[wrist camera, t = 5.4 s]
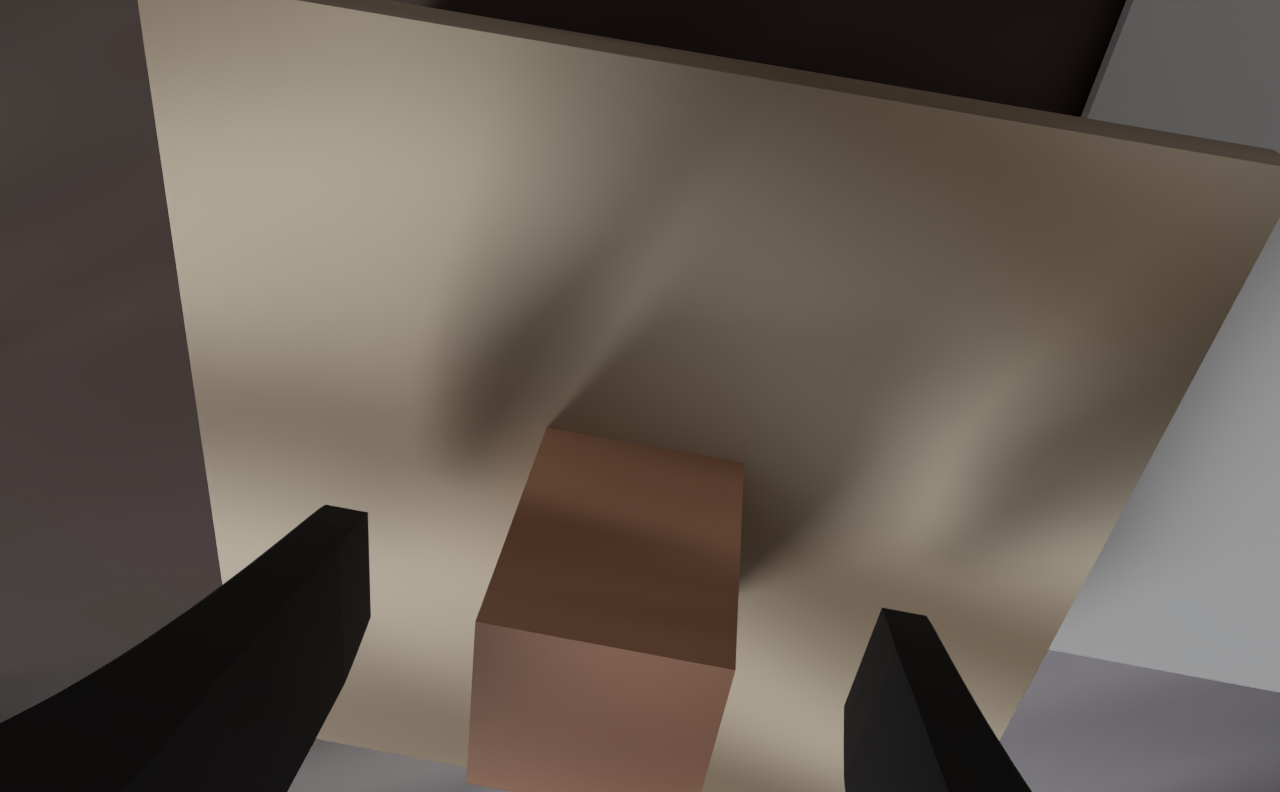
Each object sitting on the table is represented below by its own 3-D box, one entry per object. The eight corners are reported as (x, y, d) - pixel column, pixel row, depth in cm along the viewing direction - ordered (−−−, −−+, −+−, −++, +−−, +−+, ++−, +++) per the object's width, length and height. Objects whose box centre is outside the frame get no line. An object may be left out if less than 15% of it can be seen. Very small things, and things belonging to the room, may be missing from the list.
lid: (931, 820, 19) (974, 1093, 15) (261, 693, 19) (126, 924, 15) (1273, 149, 11) (1546, 330, 7) (169, -37, 12) (-141, 39, 8)
